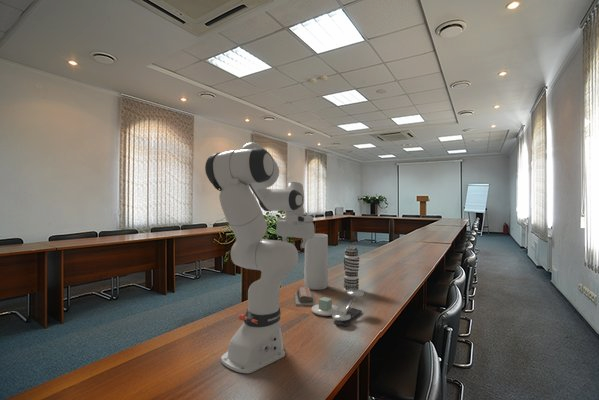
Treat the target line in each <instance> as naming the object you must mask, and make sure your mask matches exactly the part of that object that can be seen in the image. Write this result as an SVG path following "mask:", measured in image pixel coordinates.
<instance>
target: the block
mask: <svg viewBox="0 0 599 400" xmlns="http://www.w3.org/2000/svg"><path fill="white" fill-rule="evenodd" d="M332 302H333V299H332V298H329V297H326V296H323V297H320V298H319V299H318V304H319V309H320V310H324V311H328V310H330V309H331V308H332V305H333V303H332Z"/></svg>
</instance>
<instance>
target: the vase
mask: <svg viewBox="0 0 599 400" xmlns="http://www.w3.org/2000/svg"><path fill="white" fill-rule="evenodd" d="M328 242H329V237H328V234H325V233H315V236H314V237H313V238H311V239H307V242H306V244H305V248H304V270H303V271H304V274H303V275H304V278H303V279H304V287H308V288H309V289H310V291H311V290H312V291H320V290H321V291H322V290H325V289H327V287H328V286H329V285H328V284H329V243H328Z"/></svg>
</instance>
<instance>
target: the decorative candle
mask: <svg viewBox="0 0 599 400" xmlns="http://www.w3.org/2000/svg"><path fill="white" fill-rule="evenodd" d="M359 262H360V257H359V250H358V248H357V247H354V246H348V247H346V248H345V249H344V258H343V270H344V277H343V282H344V283H343V288H344V289H343V290H344V292H346V291H347V290H349V289H359V290H360V288H359V287H360V285H359V282H360V281H359V280H360V279H359V271H360V269H359V268H360V266H359V265H360V263H359Z"/></svg>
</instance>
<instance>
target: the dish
mask: <svg viewBox="0 0 599 400" xmlns="http://www.w3.org/2000/svg"><path fill="white" fill-rule="evenodd" d="M311 312H312V313H314V314H315V315H318V316H322V317H330V316H331V317H332V314H333V313H334V312H340V308H339V306H337V305H335V304H332V308H331V309H330V310H328V311H324V310H320V309H319V303H318V304H317V303H316V304H315V305H312V307H311Z"/></svg>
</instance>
